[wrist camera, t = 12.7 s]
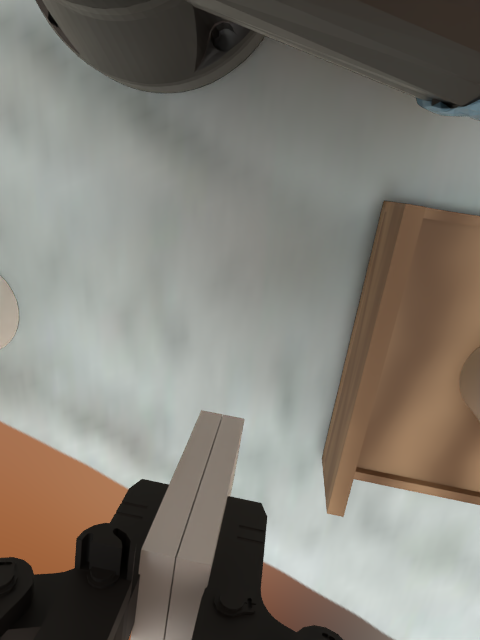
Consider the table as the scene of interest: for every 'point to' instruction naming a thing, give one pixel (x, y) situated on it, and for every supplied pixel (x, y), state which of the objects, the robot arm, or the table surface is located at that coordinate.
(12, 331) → the cylindrical container
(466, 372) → the beige rounded cylinder
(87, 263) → the table surface
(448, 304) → the tray
